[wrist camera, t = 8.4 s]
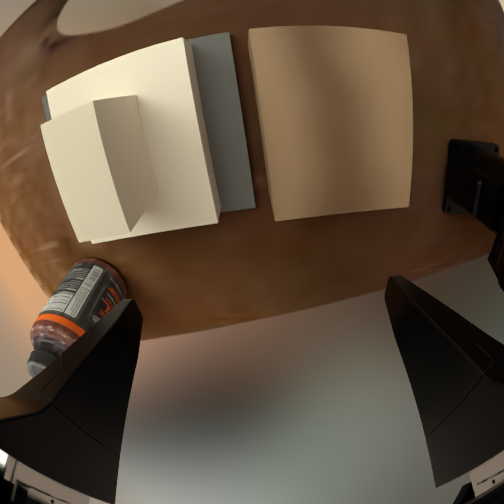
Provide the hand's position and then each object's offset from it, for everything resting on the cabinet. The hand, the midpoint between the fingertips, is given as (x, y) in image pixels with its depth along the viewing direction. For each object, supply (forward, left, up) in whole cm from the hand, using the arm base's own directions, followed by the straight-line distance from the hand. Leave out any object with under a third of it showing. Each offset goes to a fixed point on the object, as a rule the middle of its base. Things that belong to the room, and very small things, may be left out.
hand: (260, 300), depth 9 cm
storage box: (-5, -5, -12) cm, 13 cm away
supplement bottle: (+15, +6, -12) cm, 20 cm away
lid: (+7, -5, -11) cm, 14 cm away
